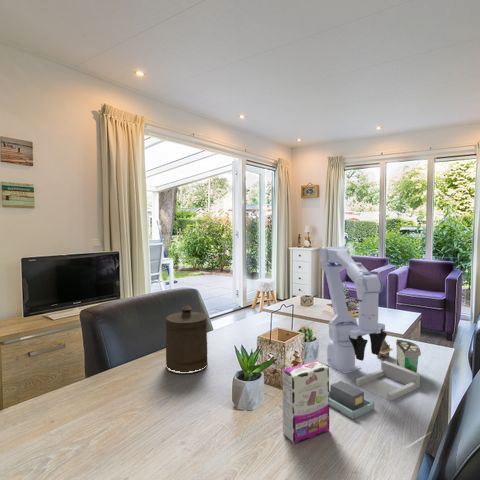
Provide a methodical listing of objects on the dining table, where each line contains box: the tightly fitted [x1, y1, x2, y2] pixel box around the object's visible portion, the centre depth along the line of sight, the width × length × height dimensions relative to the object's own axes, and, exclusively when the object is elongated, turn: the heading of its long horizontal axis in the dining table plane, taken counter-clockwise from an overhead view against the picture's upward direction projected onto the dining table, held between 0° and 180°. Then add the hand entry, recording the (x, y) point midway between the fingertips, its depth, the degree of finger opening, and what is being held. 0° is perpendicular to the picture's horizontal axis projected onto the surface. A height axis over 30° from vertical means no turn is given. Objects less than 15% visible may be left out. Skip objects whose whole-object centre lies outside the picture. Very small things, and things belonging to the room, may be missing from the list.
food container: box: [395, 339, 422, 373], centre depth 117 cm, size 12×6×10 cm, turn 168°
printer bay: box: [355, 360, 421, 402], centre depth 108 cm, size 12×15×4 cm
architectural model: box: [376, 338, 394, 359], centre depth 131 cm, size 3×7×7 cm, turn 128°
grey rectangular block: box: [329, 380, 365, 411], centre depth 98 cm, size 8×4×4 cm, turn 34°
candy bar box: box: [281, 360, 330, 445], centre depth 85 cm, size 11×5×16 cm, turn 118°
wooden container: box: [165, 305, 208, 372], centre depth 125 cm, size 15×15×22 cm
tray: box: [329, 389, 375, 421], centre depth 98 cm, size 12×9×2 cm
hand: (367, 356), depth 107 cm, fingers open, 7 cm apart
